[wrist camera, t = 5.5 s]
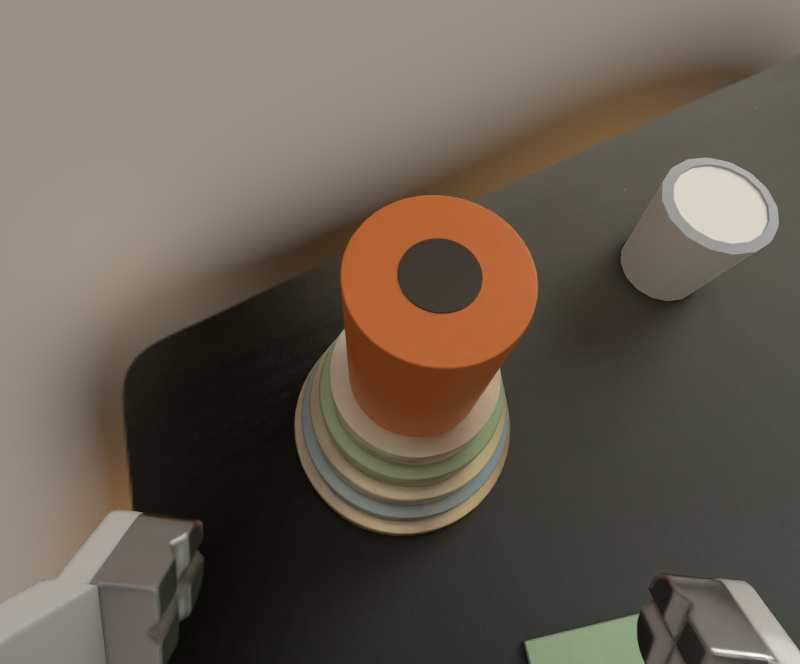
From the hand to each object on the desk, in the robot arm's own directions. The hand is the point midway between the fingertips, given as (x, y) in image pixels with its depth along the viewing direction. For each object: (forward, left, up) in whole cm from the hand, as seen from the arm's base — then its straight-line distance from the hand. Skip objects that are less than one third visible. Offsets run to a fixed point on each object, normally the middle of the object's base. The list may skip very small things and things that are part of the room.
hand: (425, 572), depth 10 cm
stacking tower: (+2, +7, -20) cm, 22 cm away
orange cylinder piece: (+2, +7, -10) cm, 13 cm away
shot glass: (+22, +15, -21) cm, 34 cm away
